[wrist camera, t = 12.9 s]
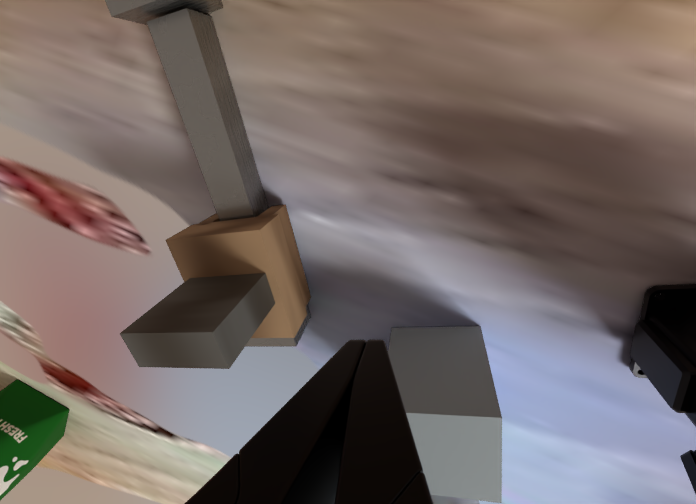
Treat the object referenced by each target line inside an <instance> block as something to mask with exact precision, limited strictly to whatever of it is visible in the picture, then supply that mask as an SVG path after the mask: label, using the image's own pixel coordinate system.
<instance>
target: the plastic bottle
mask: <svg viewBox="0 0 696 504" xmlns="http://www.w3.org/2000/svg"><path fill="white" fill-rule="evenodd" d="M431 497H432V500H433V503H434V504H479V501H478V500H472V499H464V498H455V497H447V496H438V495H431Z"/></svg>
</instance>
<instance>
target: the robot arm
mask: <svg viewBox="0 0 696 504" xmlns="http://www.w3.org/2000/svg"><path fill="white" fill-rule="evenodd" d="M660 293H661V295H659V296H658V297H655V296H656V295H657V294H660ZM630 356H631V362H630V370H631V372H632V373H633V374H634V376H636V377H639V378H648V379H649V380H650V382H651V383H652V384H653V385H654V387H655V388H656V389H657V391H658V392H659V393H660V395H661V396H662V397H663V398H664V400H665V401H666V402H667V404H668V405H669V406H670V407H671V408H672V409H673V410H674V411H676V412H677V413H685V414H686V415H687V416H688V418H689V419H690V420H691V421H692V423H693V424H694V425H695V426H696V284H685V285H662V286H653V287H651V288H649V289H648V290H647V291H646V293H645V296H644V301H643V306H642V310H641V315H640V320H639V321H638V322H637V323H636V327H635V332H634V337H633V342H632V346H631V351H630ZM640 369H641V370H640ZM680 457H681V460H682V462H683V464H684V467H685V469H686V472H687V474H688V476H689V479H690V481H691V484H692V486H693V489H694V491H695V493H696V450H695V451H692V450H690V451H688V452H686V453H685V454H683V455H681V456H680ZM185 504H434V503H433V500H432V497H431V494H430V490H429V487H428V484H427V480H426V477H425V474H424V473H423V468H422V464H421V461H420V458H419V454H418V451H417V448H416V444H415V441H414V438H413V434H412V431H411V428H410V424H409V421H408V418H407V414H406V411H405V407H404V404H403V401H402V397H401V394H400V391H399V387H398V384H397V381H396V377H395V374H394V371H393V367H392V364H391V361H390V357H389V354H388V350H387V347H386V344H385V341H384V340H368V341H366V340H349V341H348V342H347V343H346V344H345V345H344V346H343V347H342V348H341V349H340V350H339V351H338V352H337V353H336V354H335V355H334V356H333V357H332V358H331V359H330V360H329V361H328V362H327V363H326V364H325V365H324V366H323V367H322V368H321V369H320V370H319V371H318V372H317V373H316V374H315V375H314V376H313V377H312V378H311V379H310V380H309V381H308V382H307V383H306V384H305V385H304V386H303V387H302V388H301V389H300V390H299V391H298V392H297V393H296V394H295V395H294V396H293V397H292V398H291V399H290V400H289V401H288V402H287V403H286V404H285V405H284V406H283V407H282V408H281V409H280V410H279V411H278V412H277V413H276V414H275V415H274V416H273V417H272V418H271V419H270V420H269V421H268V422H267V423H266V424H265V425H264V426H263V427H262V428H261V429H260V431H258V432H257V433H256V434H255V436H253V437H252V439H250V440H249V442H247V443H246V444H245V446H244V447H243V448H242V449H241V450H240V451H239V454H235V455H234V456H233V457H232V458H231V459H230V460H229V461H228V462H227V463H226V464H225V465H224V466H223V467H222V468H221V469H220V470H219V471H218V472H217V473H216V474H215V475H214V476H213V477H212V478H211V479H210V480H209V481H208V482H207V483H206V484H205V485H204V486H203V487H202V488H201V489H200V490H199V491H198V492H197V493H196V494H195V495H194V496H192V497H191V498H190V499H189V500H188V501H187V502H186V503H185Z"/></svg>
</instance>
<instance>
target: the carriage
mask: <svg viewBox="0 0 696 504" xmlns="http://www.w3.org/2000/svg"><path fill="white" fill-rule="evenodd" d="M166 242H167V244H168V246H169V249H170V251H171V253H172V256H173V258H174V260H175V262H176V264H177V267H178V269H179V271H180V273H181V276H182V278H183V280H184V283H183V284H182V285H180V286H179V287H178V288H177V289H175V290H174V291H173V292H172V293H170V294H169V295H168V296H167V297H165V298H164V299H163V300H162V301H160V302H159V303H158V304H156V305H155V306H154V307H153V308H151V309H150V310H149V311H148V312H146V313H145V314H144V315H143V316H141V317H140V318H139V319H137V320H136V321H135V322H134V323H132V324H131V325H130V326H129V327H127V328H126V329H125V330H124V331H122V332H121V333H120V335H121V337H122V338H123V340H124V342H125V343H126V345H127V347H128V349H129V350H130V352H131V354H132V355H133V357H134V359H135V360H136V362H137V364H138V366H139V367H172V368H221V369H224V368H225V369H229V368H230V367H231V365H232V364H233V362H234V361H235V360H236V358H237V357H238V355H239V354H240V353H241V351H242V350H243V348H244V347H245V346H246V344H247V343H248V341H249V340H250V338H295V336H296V334H297V332H298V330H299V328H300V326H301V325H302V323H303V321H304V319H305V317H306V315H307V311H306V305H307V304H308V302H309V300H310V298H311V295H310V292H309V288H308V284H307V281H306V277H305V273H304V270H303V266H302V263H301V259H300V255H299V252H298V248H297V244H296V241H295V237H294V234H293V230H292V226H291V223H290V219H289V215H288V212H287V208H286V205H277V206H271V207H270V208H268V209H267V210H266V211H264V212H263V213H262V214H260V215H259V216H258V217H252V218H244V219H235V220H227V221H220V220H219V217H218V215H217V213H216V214H214V215H213V216H211V217H209V218H207V219H206V220H204V221H202V222H201V223H199V224H195V225H191V226H189V227H188V228H186V229H184V230H182V231H181V232H179V233H177V234H175V235H174V236H172V237H170V238H169V239H167V240H166Z"/></svg>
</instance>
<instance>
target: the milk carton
mask: <svg viewBox="0 0 696 504" xmlns="http://www.w3.org/2000/svg"><path fill="white" fill-rule="evenodd" d="M68 413H69V409H68V408H66V407H64V406H62V405H61V404H59V403H57V402H55V401H54V400H52V399H50V398H49V397H47V396H45V395H43V394H42V393H40V392H38V391H36V390H35V389H33V388H31V387H29V386H28V385H26V384H24V383H22V382H21V381H19V380H18V379H17V380H15V381H14V382H13V383H11V384H10V385H8V386H7V387H6V388H4V389H3V390H1V391H0V500H1V499H2V498H3V497H4V496H5V495H6V494H7V493H8V492H9V491H11V490H12V489H13V488H14V487H15V486H16V485H17V484H18V483H19V482H20V481H21V480H22V479H23V478H24V477H25V476H26V475H27V474H28V473H29V472H30V471H31V470H32V469H33V468H34V467H35V466H36V465H37V464H38V463H39V462H40V461H41V460H42V458H43V457H44V456H45V455H46V454H47V453H48V452H49V451H50V450H51V449H52V448H53V447H54V445H55V444H56V443H57V442H58V441H59V440H60V439H61V438H62V437H63V436H64V432H65V427H66V422H67V418H68Z"/></svg>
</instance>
